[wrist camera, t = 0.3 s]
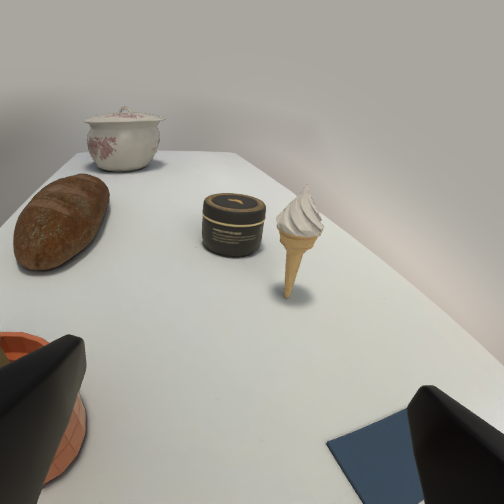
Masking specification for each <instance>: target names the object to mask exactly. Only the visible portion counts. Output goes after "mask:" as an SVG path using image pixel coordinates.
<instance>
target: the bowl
mask: <svg viewBox="0 0 504 504" xmlns="http://www.w3.org/2000/svg"><path fill="white" fill-rule="evenodd" d="M0 335H1V345H0V347H1V348H2V350H3V351H4V353H5V355H6V356H7V358H8V359H9V361H10V362H13V361H15V360H17V359H19V358H21V357H23V356H25V355H27V354H29V353H31V352H33V351H35V350H37V349H39V348H41V347H43V346H45V345H47V344H49V342H47V341H46V340H44V339H43V338H41V337H37V336H34V335H31V334H27V333H23V332H1V333H0ZM85 425H86V412H85V408H84V405H83V402H82V399H81V396H80V393H78V396H77V399H76V402H75V405H74V408H73V412H72V415H71V418H70V421H69V423H68V426H67V428H66V431H65V433H64V435H63V437H62V440H61V442H60V445H59V447H58V449H57V452H56V454H55V457H54V459H53V461H52V464H51V466H50V469H49V472H48V474H47V477H46V479H45V482H44V484H45V483H47V482H48V481H50V480H52V479H54V478H55V477H57V476H59V475H60V474H61V473H63V471H64V470H65V469H66V468H67V467H68V466H69V464H70V463H71V462H72V461H73V460H74V458H75V457H76V456H77V455H78V452H79V449H80V447H81V444H82V441H83V439H84V436H85Z"/></svg>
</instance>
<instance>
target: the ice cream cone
mask: <svg viewBox="0 0 504 504" xmlns="http://www.w3.org/2000/svg"><path fill="white" fill-rule="evenodd" d="M276 218H277V228H278V230H279V233H280V242H281V243H282V244H283V245H284V247H285V249H286V251H287V254H286V271H285V288H284V296H285V298H288V297H289V296H290V293H291V290H292V287H293V284H294V281H295V278H296V275H297V272H298V269H299V266H300V262H301V259H302V255H303V254H304V253H305V252H306V251H307V250H308V249H311V248H312V247H313V244H314V243H315V240H316V239H317V237H319V236H320V235H321V233H322V231H323V228H324V225H323V224H322V223H321V222H320V221H321V220H322V219H321V217H320V215H319V212H318V210H317V209H316V207H315V205H314V202H313V200H312V197H311V195H310V191H309V188H308V185H307V184H306V186H305V187H304V188H303V190H302V191H301V193H300V194H299V195H298V196H297V197H296V198H295V199H294V200H293V201H292V202H291V203H290V204H289V205H288V206H287V207H286V208H285V209H284V210H283V211H282V212H281V213H280V214H279V215H278V216H277V217H276Z"/></svg>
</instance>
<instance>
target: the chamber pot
mask: <svg viewBox="0 0 504 504" xmlns="http://www.w3.org/2000/svg"><path fill="white" fill-rule="evenodd" d="M122 110H127V111H128V112H122ZM163 120H165V118H164V117H160V116H158V115H153V114H146V113H139V112H138V113H137V112H132V111H131V110H130V108H128V107H126V106H124V107H122V108H121V109H120V110H119V111H118V113H109V114H104V115H99V116H94V117H91V118H89V119H86V120H84V122H85V123H89V125H90V127H91V129H90V131H89V133H88V135H87V145H88V150H89V154H90V156H91V157H92V159H93V161H94V162H95V164H96V165H97V166H98V167H99V168H101V169H104V170H107V171H112V172H126V171H133V170H138V169H140V168H143V167H145V166H147V165H148V164H149V163H150V161H151V160H152V158H153V157H154V155H155V154H156V152H157V148H158V145H159V141H160V132H159V130H158V128H157V125H158V123H159V122H160V121H163Z"/></svg>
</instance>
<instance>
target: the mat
mask: <svg viewBox="0 0 504 504" xmlns="http://www.w3.org/2000/svg"><path fill="white" fill-rule="evenodd" d="M326 444H327V446H328V447H329V449H330V451H331V452H332V454H333V456H334V457H335V459H336V460H337V462H338V464H339V465H340V467H341V469H342V470H343V472H344V473H345V475H346V477H347V478H348V480H349V481H350V483H351V485H352V486H353V488H354V489H355V491H356V493H357V494H358V496H359V497H360V499H361V500H362V502H363V504H418V503H419V502H421V501H422V500H424V497H423V493H422V488H421V484H420V479H419V475H418V471H417V467H416V463H415V459H414V454H413V448H412V442H411V435H410V429H409V424H408V418H407V408H406V409H403V410H401V411H399V412H397V413H395V414H393V415H391V416H389V417H387V418H385V419H382V420H380V421H378V422H376V423H373V424H371V425H369V426H366V427H364V428H362V429H359V430H357V431H354V432H352V433H349V434H347V435H344V436H342V437H339V438H336V439H334V440H331V441H328V442H327V443H326Z"/></svg>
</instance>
